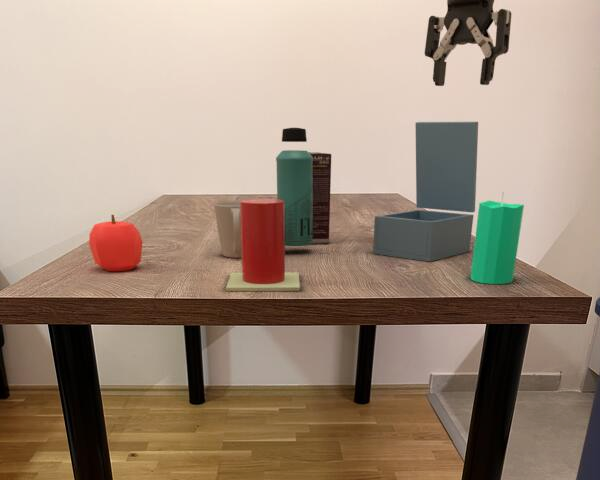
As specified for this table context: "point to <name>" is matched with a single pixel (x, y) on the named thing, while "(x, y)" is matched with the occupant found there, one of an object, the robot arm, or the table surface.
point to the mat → (287, 285)
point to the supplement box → (321, 196)
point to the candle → (496, 242)
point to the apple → (115, 245)
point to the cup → (229, 228)
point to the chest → (422, 234)
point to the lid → (446, 165)
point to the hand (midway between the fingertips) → (461, 85)
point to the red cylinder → (262, 240)
